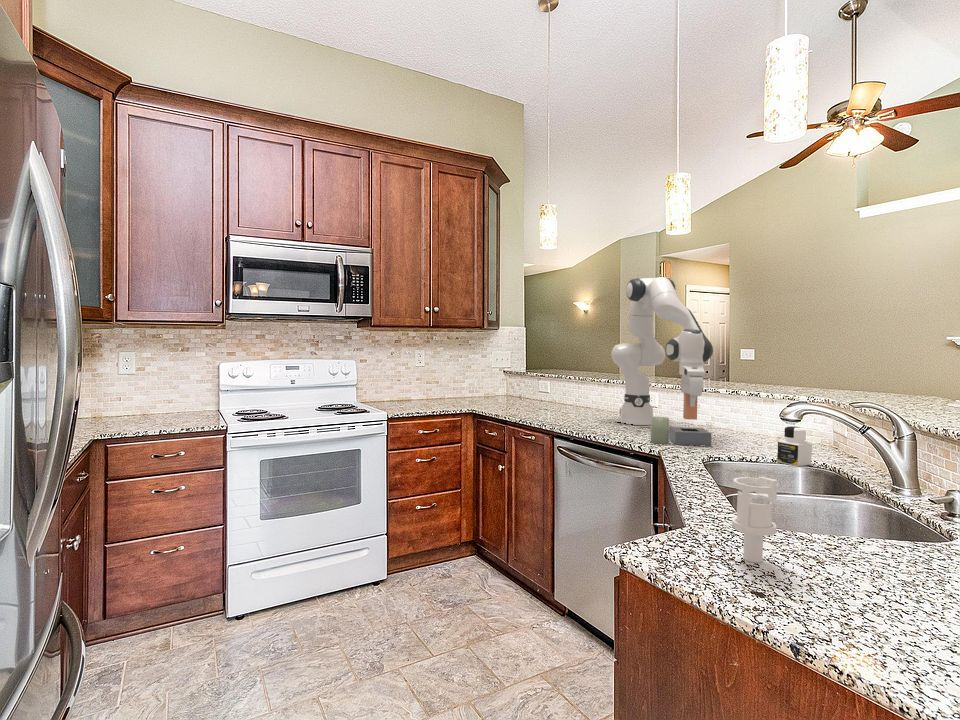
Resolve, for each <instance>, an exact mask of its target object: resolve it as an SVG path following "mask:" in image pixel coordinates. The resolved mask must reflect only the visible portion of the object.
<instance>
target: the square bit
mask: <svg viewBox="0 0 960 720" xmlns="http://www.w3.org/2000/svg"><path fill="white" fill-rule="evenodd" d="M689 402H690V395H689V394H687V393H683V411H682V412H683V413H682V414H683V416H682V417H683V419H684V420H692V421H694V420H695V421H696V420H698V396H696V401H695V406H694V407H691V406H689Z"/></svg>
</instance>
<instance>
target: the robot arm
mask: <svg viewBox="0 0 960 720" xmlns="http://www.w3.org/2000/svg"><path fill="white" fill-rule="evenodd" d="M625 291H626V292H625V293H626V296H627V298H628V300H629V301H630V307H629V314H628V315H629V316H628V331H629V333H630V334H632V336H633V335H634V336H635V337H637V338H638V340H639V342H636V343H634V342H625V343H619V344H615V345H614V346H613V348H612V350H611V354H610V355H611V356H610V357H611V359H612V362H613V363H614V364H615V365H617V367H618V368H620V369H621V371H622V373H623V376H624V380H625V393H624V397H623V400H624V403H622V405H621V407H620V408H619V409H618V412H619V417H618V419H617V420H616V423H617V422H621V423H620V424H624V423H626V424H625V425H631V424H633V426H651V417H654V407H653V406H652V405H651V404H650V402H651V395H650V379H649V377H648V376H647V375H646V374H644V373H642V372H640V370H639V368H638V367H654V366H658V365H662V364H663V363H664V361H665V359H666V357H667V358H668V359H669V361H673V362H678V365H679V368H678V374H679V375H680V376H681V377H680V378H681V381H680V392H681V393H683V394H684V393H687V394H689V395H690V402H689V406H691V407H694V406H695V401H696V396H697V397H701V396H702V394H703V386H704V377H705V376H706V371H705V369H704V365H705V364H704V363H706V362H707V361H709V360H710V359H711V358H712V356H713V353H714V347H713V345H712V343H711V341H710V340H709V339H708V338H707V336H706V335H705V333H704V332H703V330H702V328H701V326H700V324H699V322H698V321H697V319H696V317H695V315H694V314H693V312H692V310H690V309H689V308H688V307H686V306H685V305H684V304H683V303H682V301H681V300H680V298H679V296H678V294H677V292H676V285H675V282H674V281H673V280H672V279H670V278H667V277H664V276H659V277H648V278H647V277H644V278H643V277H641V278H639V277H637V278H632V279H630V280H629V281H628V283H627V284H626V289H625ZM654 314H655V315H656V316H657V317H658V318H659V319H662V320H665V321H669V322H672V323H674V324H677V325H680V326H682V328H684V329H682V330H681V332H680V334H679V335H678V336H676V337H674V338H671V339H669V340H668V341H667V343H666V344H665V348H664V347H663V345H661V344H660V343H659V342H658V341H657V339H656V338H655V335H654V329H653V328H654V325H653V324H654Z"/></svg>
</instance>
